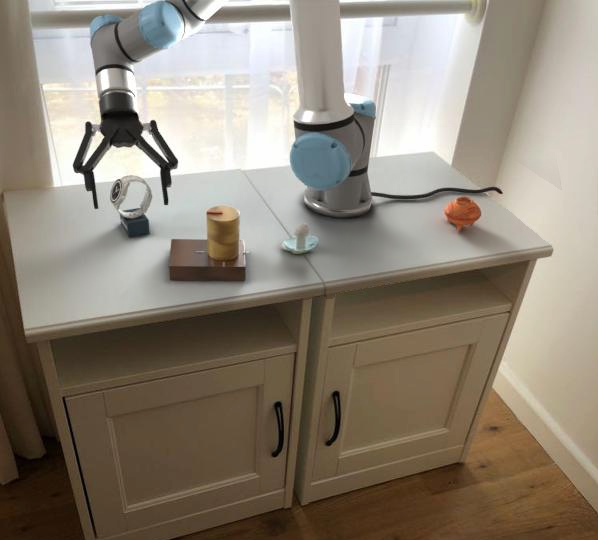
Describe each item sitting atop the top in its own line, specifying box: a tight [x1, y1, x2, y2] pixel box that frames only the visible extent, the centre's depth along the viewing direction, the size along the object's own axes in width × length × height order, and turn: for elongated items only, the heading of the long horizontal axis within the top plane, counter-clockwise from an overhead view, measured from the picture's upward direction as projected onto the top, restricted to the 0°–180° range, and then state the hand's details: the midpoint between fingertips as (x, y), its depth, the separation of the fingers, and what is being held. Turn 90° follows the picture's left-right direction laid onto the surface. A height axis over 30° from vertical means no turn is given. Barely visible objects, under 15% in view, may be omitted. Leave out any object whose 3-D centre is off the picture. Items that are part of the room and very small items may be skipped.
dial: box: [206, 205, 241, 261], centre depth 122 cm, size 6×6×8 cm
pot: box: [443, 196, 482, 233], centre depth 144 cm, size 8×8×7 cm
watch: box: [109, 174, 153, 238], centre depth 132 cm, size 6×8×11 cm
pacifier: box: [280, 222, 319, 255], centre depth 132 cm, size 7×6×6 cm
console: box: [168, 238, 251, 282], centre depth 126 cm, size 15×10×3 cm
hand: (131, 205), depth 131 cm, fingers open, 13 cm apart
